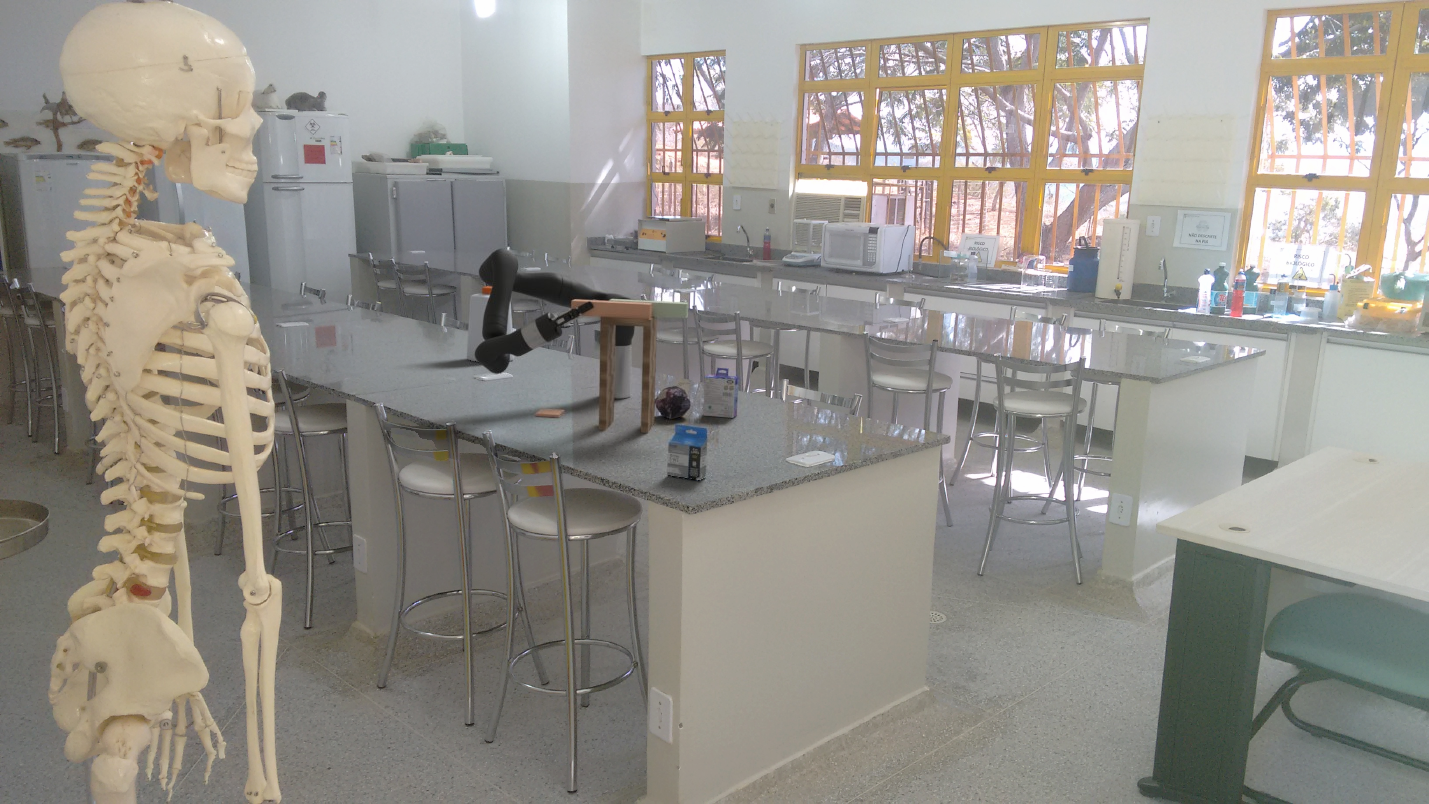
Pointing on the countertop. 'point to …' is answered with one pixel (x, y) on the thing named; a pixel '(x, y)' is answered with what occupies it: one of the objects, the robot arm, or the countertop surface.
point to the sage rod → (664, 308)
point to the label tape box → (687, 452)
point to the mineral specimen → (672, 402)
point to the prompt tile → (549, 413)
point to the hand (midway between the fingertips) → (593, 303)
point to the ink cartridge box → (720, 395)
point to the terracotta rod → (616, 309)
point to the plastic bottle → (480, 322)
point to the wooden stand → (609, 369)
